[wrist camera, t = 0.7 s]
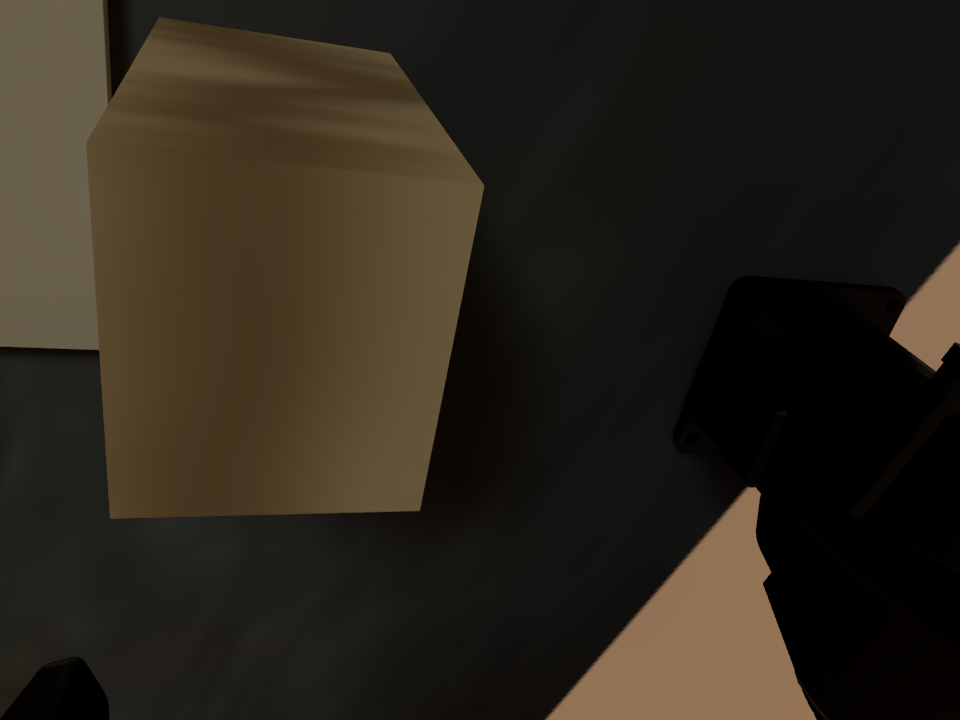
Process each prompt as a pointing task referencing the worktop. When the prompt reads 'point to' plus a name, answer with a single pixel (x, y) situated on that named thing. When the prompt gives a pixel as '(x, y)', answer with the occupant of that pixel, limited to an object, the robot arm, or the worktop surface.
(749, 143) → the worktop surface
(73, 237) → the mat
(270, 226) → the wooden block
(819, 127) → the worktop surface
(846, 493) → the robot arm
